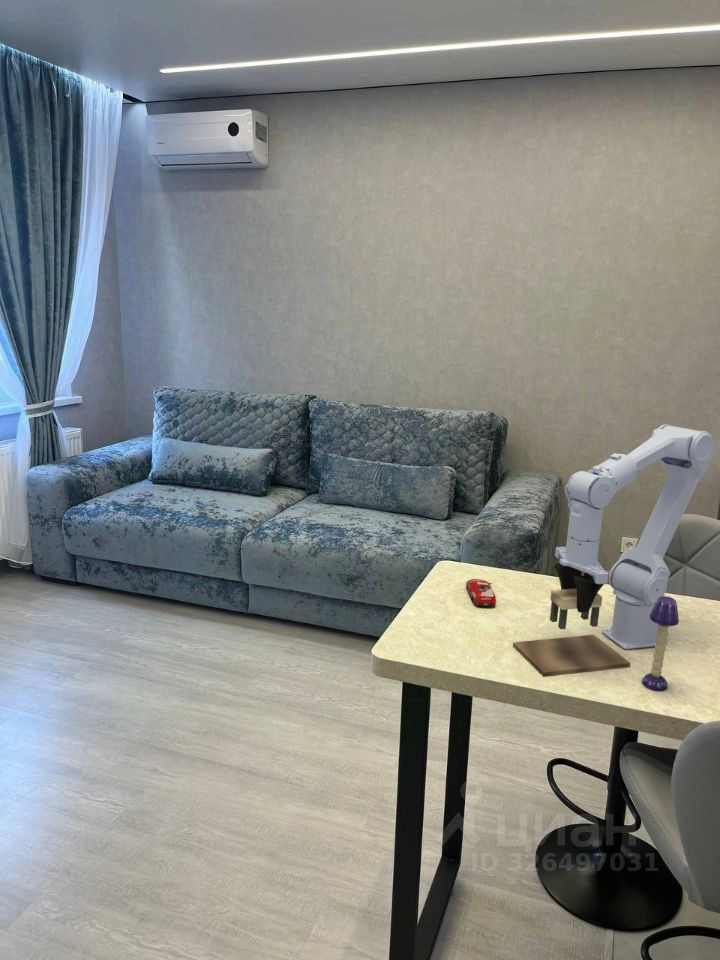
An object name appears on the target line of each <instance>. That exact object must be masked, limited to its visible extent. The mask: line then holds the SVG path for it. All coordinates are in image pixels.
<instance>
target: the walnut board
mask: <svg viewBox="0 0 720 960" xmlns="http://www.w3.org/2000/svg"><path fill="white" fill-rule="evenodd" d="M512 647H513V648H514V649H515V650H516V651H517V652H518V653H519V654H520V655H521V656H522V657H523V658H524V659H525V660H526V661H527V662H528V663H529V664H530V665H531V666H532V667H533V668H534V669H535V670H536V671H537V672H538V673H539V674H540V675H541V676H542V677H551V676H557V675H561V676H562V675H567V674H568V675H569V674H570V675H571V674H579V673H589V672H594V671H605V670H612V669H613V670H614V669H621V668H622V669H624V668H630V667H631V662H630V661H629V660H627V659H626V658H625V657H624V656H622V655H621V654H620V653H618V652H617V651H615V649H613V648H612V647H611V646H609V645H608V644H607V643H605V642H604V641H603V640H602V639H601V638H599V637H598V636H597V635H595V634H587V635H586V634H585V635H578V636H577V635H576V636H565V637H557V638H554V637H553V638H547V639H546V638H544V639H537V640H536V639H535V640H525V641H524V640H523V641H513V643H512Z"/></svg>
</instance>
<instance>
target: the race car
mask: <svg viewBox="0 0 720 960" xmlns="http://www.w3.org/2000/svg"><path fill="white" fill-rule="evenodd" d="M492 585H493V583H491V582H489V581H487V580H485V579H482V578H481V579H480V578H472V579H468V580H467V581H466V583H465V586H466V591H467V593H468V595H469V597H470V600H471V602H472V604H473V605H474V606H476V607H479V606H480V607H492V608H493V607H495V606H496V605H497V598H496V594H495V591H494V590H493V588H492Z"/></svg>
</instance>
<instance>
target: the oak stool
mask: <svg viewBox="0 0 720 960" xmlns="http://www.w3.org/2000/svg"><path fill="white" fill-rule="evenodd" d="M550 601H551V604H550V615H549V621H550V622H551V623H557V622H558V625H557V628H559V630H567V629H566V628H567V620H568V611H569V610H575V609H576V610H577V590H576V589H563V590H561V589H552V590H551V591H550ZM602 603H603V596H602V595H600V594H599V592H598V593H597V595H596V596H595V598H594V601H593V603H592V605H591V608H590V610H591V612H590V611H589V612H581V613H580V618H581V619H583V620H589V616H590V620H589V626H591V627H593V628H597V627H598V624H599V616H600V608H602ZM558 615H559V616H558Z"/></svg>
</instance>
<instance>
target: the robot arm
mask: <svg viewBox="0 0 720 960" xmlns="http://www.w3.org/2000/svg"><path fill="white" fill-rule="evenodd" d="M639 445H640V446H638V447H636V448H635V449H633V450H632V451H631V452H629V453H627V454H624V453H614V452H613V454H611V455H610V456H609V458H608V459H606V460H604V461H603V462H601V463H600V464H598V465H595V466H592V468H591V469H589V470H587V471H583V470H580V471H577V472H575V473H573V474H572V475H571V476H570V477H569V479H568V481H567V485H565V486H564V493H565V496H566V498H567V502H568V503H567V508H568V509H569V518H568V526H567V535H566V536H567V537H566V543H565V544H566V546H557V547H555V553H554V555H555V558H556V559H559V562H556V563H554V569H555V571H556V574H557V576H558V580H559V584H560V590H563V589H576V590H577V609H576V610H577V612H578V613H580V614H581V612H589V613H590V610H591V609H592V608H591V605H592V603H593V601H594V598H595V596H596V595H597V593H598V594H599V591H600V590H601V589H602V588H603V586H604V585H607V584H609V586H610V587H611V588H612V589H613V591H612V592H613V593H612V594H613V595H614V596H615V601H614V609H613V616H612V624H611V628H607V629H602V630H601V633H602V634H604V636H606V637H608V639H610V640H611V641H613V642H614V643H616V644H617V645H618V646H619V647H620V648H622V649H623V650H632V649H641V648H652V647H655V645H656V638H657V636H658V635H657V630H658V629H659V627H658V624H657V623H655V622H653V621H652V620H651V619H650V614H651V611H652V609H653V607H654V605H655V603H656V601H657V599H658V598H659V597H661V596H665V595H666V592H667V586H668V581H669V577H670V575H671V572H670V570H669V568H668V565H667V564H666V562H665V561H664V557H665V554H666V553H667V550H668V548H669V545H670V543H671V542H672V540H673V537H674V535H675V532H676V531H677V528H678V526H679V524H680V522H681V519H682V517H683V515H684V513H685V511H686V508H688V505H689V502H690V500H691V499H692V496H693V494H694V491H695V489H696V487H697V485H698V483H699V482H700V479H701V478H702V477H704V475H705V472H706V470H707V468H708V466H709V464H710V462H711V460H712V458H713V456H714V453H715V452H716V450H715V444H714V440H713V436H712V434H711V433H710V432H708V431H705V430H701V431H700V430H698V429H697V430H696V429H689V428H685V427H681V426H680V427H679V426H674V425H672V424H669V423H668V424H667V423H665V424H661V425H660V426H659V427H658V428H656V429H653V431H652V433H651V436H650V438H648V439H647V440H646V441H644V442H643V443H642V444H639ZM658 461H659V463H660V465H661V467H662V468H663V469H664V470H665V471H666V473H667V475H668V477H667V480H666V482H665V484H664V486H663V487H662V491H661V492H660V494H659V497H658V499H657V502H655V506H654V508H653V510H652V512H651V513H650V517H649V519H648V521H647V522H646V525H645V527H644V530H643V531H642V534H641V536H640V538H639V541H638V542H637V544H636V547H634V548H631V549H628V550H625V551H623V552H622V553H621V555H620V557H619V558H618V560H617V561H616V562H615V564H614V565H612V567H611V568H610V571H609V573H608V572H607V571H606V570H605V569H604V568H603V567H602V565H601V564H600V562H599V561H598V558H599V548H600V539H601V533H602V522H603V514H604V509H605V507H607V506H608V505H609V503H610V502H611V500H612V498H613V497H614V496H615V495H616V493H617V492H618V491H620V490H621V489H622V488H623V487H625V486H627V485H628V484H630V483H632V482H633V481H635V480H636V478H637V476H638V471H640V470H642V469H644V468H646V467H648V466H650V465H652V464H654V463H656V462H658ZM641 566H642V567H641ZM644 567H645V568H644ZM647 568H648V569H647ZM582 574H583V575H582ZM608 582H609V583H608Z"/></svg>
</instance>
